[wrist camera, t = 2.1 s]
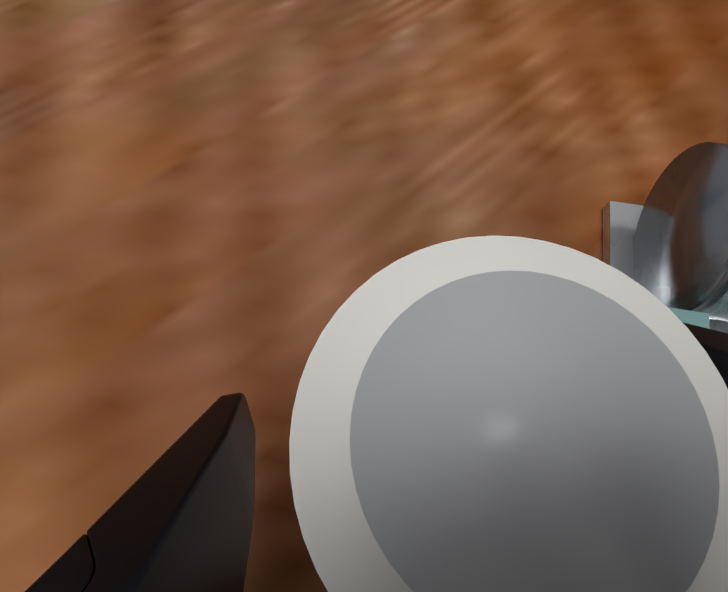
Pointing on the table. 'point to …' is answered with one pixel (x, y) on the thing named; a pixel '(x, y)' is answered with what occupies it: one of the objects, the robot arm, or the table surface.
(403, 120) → the table surface
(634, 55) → the table surface
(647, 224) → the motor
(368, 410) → the white cylinder
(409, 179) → the table surface
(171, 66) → the table surface
